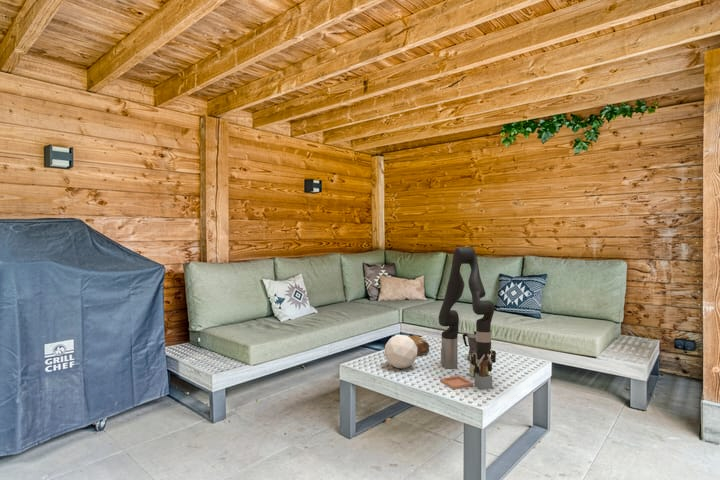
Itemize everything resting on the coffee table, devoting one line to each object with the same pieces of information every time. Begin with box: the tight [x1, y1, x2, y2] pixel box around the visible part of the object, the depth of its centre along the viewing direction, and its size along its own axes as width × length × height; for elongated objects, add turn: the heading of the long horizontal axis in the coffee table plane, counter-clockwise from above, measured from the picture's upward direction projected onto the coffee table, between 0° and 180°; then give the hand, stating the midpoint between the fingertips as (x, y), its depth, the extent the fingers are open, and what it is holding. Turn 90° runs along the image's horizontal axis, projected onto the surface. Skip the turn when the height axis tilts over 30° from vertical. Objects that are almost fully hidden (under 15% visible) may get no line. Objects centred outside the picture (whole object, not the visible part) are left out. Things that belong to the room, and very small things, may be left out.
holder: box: [474, 373, 493, 391], centre depth 211 cm, size 6×6×7 cm
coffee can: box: [468, 349, 490, 379], centre depth 228 cm, size 10×10×14 cm
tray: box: [439, 375, 474, 390], centre depth 215 cm, size 12×12×2 cm
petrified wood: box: [407, 334, 430, 356], centre depth 275 cm, size 19×13×10 cm
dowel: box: [480, 360, 487, 377], centre depth 211 cm, size 3×3×14 cm
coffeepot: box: [462, 330, 476, 362], centre depth 258 cm, size 15×9×18 cm, turn 44°
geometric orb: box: [384, 334, 418, 370], centre depth 245 cm, size 19×20×20 cm
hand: (483, 372), depth 211 cm, fingers open, 7 cm apart
